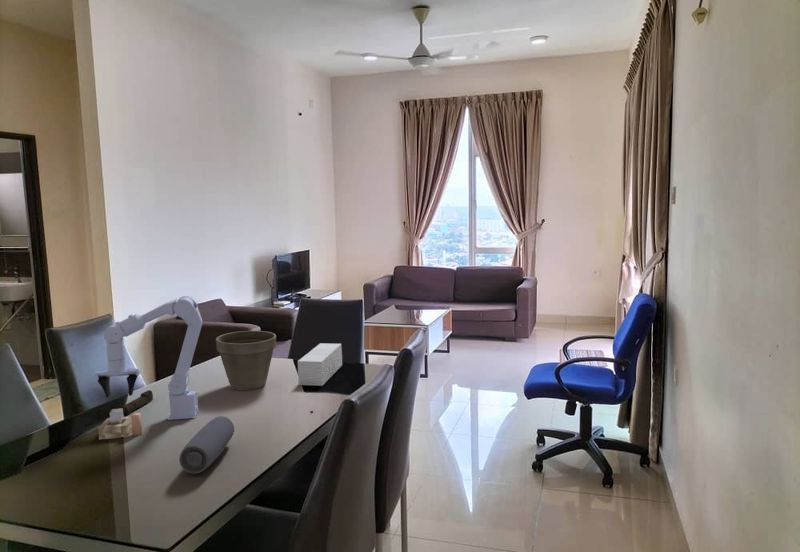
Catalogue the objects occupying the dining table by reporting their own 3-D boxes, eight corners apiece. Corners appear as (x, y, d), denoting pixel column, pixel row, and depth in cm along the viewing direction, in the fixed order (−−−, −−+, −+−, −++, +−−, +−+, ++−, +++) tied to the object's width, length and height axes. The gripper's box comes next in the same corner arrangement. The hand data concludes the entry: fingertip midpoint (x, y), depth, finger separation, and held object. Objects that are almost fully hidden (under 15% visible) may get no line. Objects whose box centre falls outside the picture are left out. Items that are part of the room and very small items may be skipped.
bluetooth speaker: (208, 444, 180) (206, 414, 178) (236, 444, 179) (235, 414, 178) (178, 478, 157) (175, 444, 156) (211, 477, 157) (208, 443, 156)
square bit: (124, 430, 193) (122, 408, 192) (122, 434, 190) (120, 411, 189) (114, 431, 192) (112, 409, 191) (111, 435, 189) (109, 412, 188)
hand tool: (127, 417, 206) (126, 405, 206) (117, 416, 207) (116, 404, 207) (159, 400, 225) (158, 389, 224) (150, 399, 226) (149, 388, 225)
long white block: (321, 365, 271) (320, 343, 270) (342, 365, 269) (341, 343, 268) (298, 385, 240) (297, 361, 238) (322, 386, 238) (321, 361, 237)
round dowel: (143, 432, 191) (141, 412, 190) (140, 435, 188) (139, 415, 187) (134, 432, 191) (132, 413, 190) (131, 436, 188) (129, 416, 187)
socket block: (135, 427, 196) (135, 416, 195) (127, 437, 187) (126, 425, 187) (108, 429, 194) (107, 418, 194) (99, 439, 186) (98, 427, 185)
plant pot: (290, 381, 244) (288, 333, 242) (247, 398, 223) (244, 345, 221) (250, 374, 257) (247, 328, 255) (206, 389, 237) (203, 339, 234)
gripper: (141, 354, 203) (144, 390, 205) (98, 357, 201) (102, 393, 202) (135, 359, 196) (138, 396, 198) (91, 362, 194) (94, 399, 195)
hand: (119, 395), depth 200 cm, fingers open, 7 cm apart
